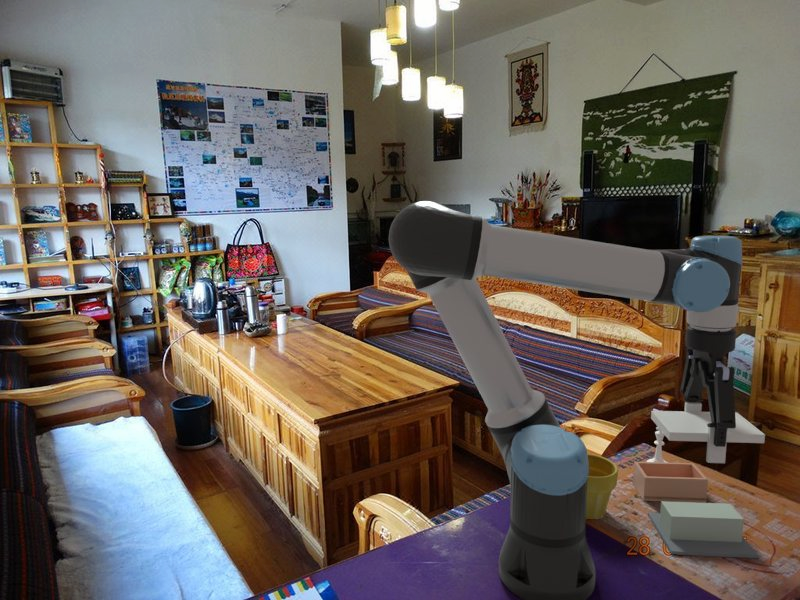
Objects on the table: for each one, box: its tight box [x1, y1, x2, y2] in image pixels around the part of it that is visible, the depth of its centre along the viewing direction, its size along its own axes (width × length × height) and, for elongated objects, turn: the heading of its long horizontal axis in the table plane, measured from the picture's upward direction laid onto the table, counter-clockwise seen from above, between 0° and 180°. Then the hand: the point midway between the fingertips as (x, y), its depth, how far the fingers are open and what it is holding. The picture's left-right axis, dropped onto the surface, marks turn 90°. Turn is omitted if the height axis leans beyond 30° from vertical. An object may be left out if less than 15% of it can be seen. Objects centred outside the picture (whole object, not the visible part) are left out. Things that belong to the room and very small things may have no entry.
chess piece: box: [646, 426, 669, 463], centre depth 125 cm, size 5×5×10 cm
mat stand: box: [647, 501, 759, 559], centre depth 99 cm, size 14×12×5 cm
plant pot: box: [586, 453, 619, 520], centre depth 107 cm, size 10×10×10 cm
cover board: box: [650, 410, 766, 444], centre depth 98 cm, size 15×10×2 cm, turn 82°
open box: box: [632, 461, 709, 503], centre depth 114 cm, size 12×7×5 cm, turn 84°
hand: (702, 448), depth 99 cm, fingers closed on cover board, 10 cm apart
